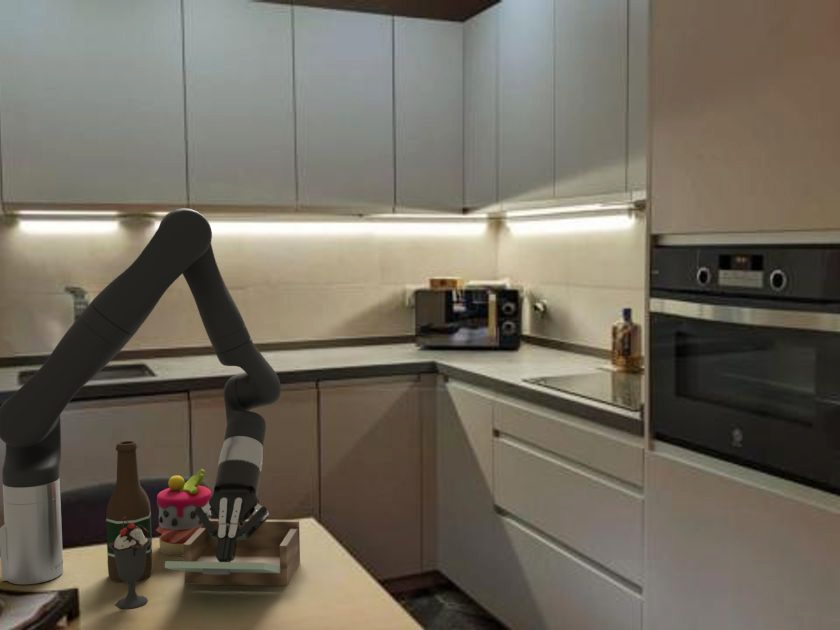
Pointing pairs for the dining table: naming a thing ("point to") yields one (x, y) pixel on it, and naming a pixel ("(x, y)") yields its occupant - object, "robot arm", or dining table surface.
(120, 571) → the sundae
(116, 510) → the beer bottle
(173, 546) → the cake
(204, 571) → the pale green panel
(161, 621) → the dining table surface
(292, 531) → the wooden box
